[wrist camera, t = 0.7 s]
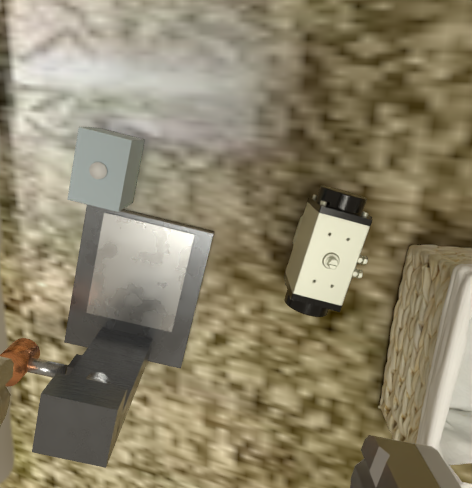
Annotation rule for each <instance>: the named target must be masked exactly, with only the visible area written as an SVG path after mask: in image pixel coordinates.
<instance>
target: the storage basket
mask: <svg viewBox="0 0 472 488" xmlns="http://www.w3.org/2000/svg"><path fill="white" fill-rule="evenodd" d="M387 360H388V361H387V363H386V366H385V371H384V384H383V386H382V395H381V400H380V405H379V406H378V408H381V410H382V412H383V416H384V418H385V420H386V423H387V425H388V429H389V431H390V432H391V433H392V437H393V440H397V441H402V442H407V443H415V444H421V445H427V446H432V447H433V448H435V449H436V450H438V452H439V454H440V455H441V457H442V458H443V460H444V461H445V463H446V464H447V466H448V468H449V469H450V471H451V472H452V474H453V475H454V477H455V478H456V480H457V482H458V483H459V485H460V486H461V488H472V483H465V482H461V480H460V479H459V477H458V476H457V475H456V474H455V472H454V471H453V470H452V468H451V467H450V465H458V464H465V463H466V464H472V248H460V247H452V246H437V245H411V246H410V247H409V249H408V251H407V257H406V262H405V265H404V269H403V278H402V281H401V284H400V287H399V300H398V301H397V304H396V306H395V309H394V320H393V323H392V326H391V332H390V345H389V348H388V354H387Z"/></svg>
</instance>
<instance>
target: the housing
mask: <svg viewBox="0 0 472 488" xmlns="http://www.w3.org/2000/svg"><path fill="white" fill-rule="evenodd" d="M144 142H145V140H144V139H141V138H137V137H133V136H129V135H125V134H121V133H117V132H113V131H109V130H105V129H101V128H92V127H79V129H78V135H77V142H76V148H75V155H74V161H73V168H72V174H71V181H70V187H69V194H68V200H71V201H75V202H80V203H84V204H88V205H92V206H96V207H100V208H104V209H108V210H112V211H116V212H119V211H121V210H122V209H124V208H125V207H127V206H128V205H130V204H131V203H133V199H134V194H135V188H136V183H137V178H138V173H139V168H140V162H141V157H142V152H143V147H144Z"/></svg>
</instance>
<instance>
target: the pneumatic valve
mask: <svg viewBox="0 0 472 488" xmlns="http://www.w3.org/2000/svg"><path fill="white" fill-rule="evenodd" d="M366 201H367V199H366V198H364V197H362V196H359V195H356V194H353V193H350V192H347V191H343V190H340V189H336V188H332V187H328V186H320V189H319V192H318V195H313V197H312V196H309V198H308V201H307V205H306V208H305V211H304V214H303V216H300V220H299V223H298V226H297V229H296V232H295V236H294V239H293V242H292V243H293V249H292V253H291V256H290V259H289V262H288V265H287V269H286V272H285V275H284V280H285V284H286V286H287V289H288V290H287V293H286V296H285V303H286V304H287V305H288V306H289V307H291V308H292V309H294V310H296V311H298V312H300V313H303V314H306V315H309V316H314V317H323V316H326V315H327V313H328V310H329V309H331V310H334V311H338V312H340V310H341V307H342V304H343V301H344V299H345V296H346V293H347V290H348V287H349V285H350V282H351V279H352V277H356V278H358V279H360V278H361V277H362V275H363V271H362V270H357V269H355V268H356V265H357V263H358V264H360V263H361V265H366V263H367V261H368V258H367V256H362V255H360V254H361V251H362V248H363V245H364V242H365V239H366V237H367V234H368V231H369V228H370V225H371V223H372V217H371V216H369V215H368V213H366V212H363V209H364V206H365V204H366Z"/></svg>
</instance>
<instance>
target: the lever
mask: <svg viewBox="0 0 472 488" xmlns="http://www.w3.org/2000/svg"><path fill="white" fill-rule="evenodd" d="M0 356H1V357H5V358H9V359H12V361H13V363H14V368H13V377H12V378H11V379H10V380H9V382H8V383H7V384H6V385H5V386H13V385H15V384H16V383H18V382H19V380H20V379H21V378H22V377H23V376H24V375H25V374H26V372H30V373H35V374H39V375H44V376H49V377H54V376H55V375H56V373H61V374H66V372H67V367H68V365H64V364H59V363H55V362H50V361H46V360H41V359H38V358H39V356H40V350H39V347H38V346H37V344H36V343H35V342H33V341H32V340H30V339H26V338H21V339H18V340H16V341H15V342H13V343H12V344H11V345H10V346H9V347H8V348H7V349H6V350H5V351H4V352H3V353H2V354H1V355H0Z"/></svg>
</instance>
